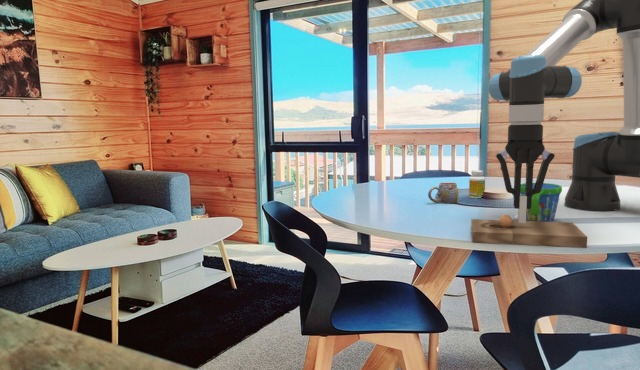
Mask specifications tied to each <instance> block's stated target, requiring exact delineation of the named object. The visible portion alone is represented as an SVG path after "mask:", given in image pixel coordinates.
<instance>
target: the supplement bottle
mask: <svg viewBox="0 0 640 370" xmlns="http://www.w3.org/2000/svg"><path fill="white" fill-rule="evenodd" d="M470 172H471V174H470V175H471V176H470V177H469V178H468V179H469V181H468V182H469V183H468V185H469V187H468V190H469V191H468V197H469V198H471V199H477V198H481V197H482V195H483V192H484V191H486V178H485V176H483V175H484V170H477V169H476V170H475V169H474V170H471V171H470ZM481 199H482V198H481Z"/></svg>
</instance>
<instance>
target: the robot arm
mask: <svg viewBox="0 0 640 370" xmlns="http://www.w3.org/2000/svg"><path fill="white" fill-rule="evenodd" d="M613 29H614V30H615V29H616V35H617V36H618V37H619V38H621V39H622V40H623V41H622V44H623V45H622V46H623V47H622V48H623V49H622V50H623V51H622V53H623V54H622V55H623V56H622V58H623V59H622V61H623V68H622V69H623V126H622V127H621V128H620V129H619V130H618V131H606V132H605V131H604V132H594V133H593V132H592V133H587V134H586V133H585V134H580V135H577V136H576V137H575V138H574V142H573V148H572V153H573V154H572V173H571V183H570V186H569V188H568V190H567V192H566V194H565V197H564V205H565V206H566V207H568V208H571V209H572V208H573V209H577V210H584V211H597V212H598V211H601V212H602V211H603V212H604V211H605V212H606V211H607V212H608V211H616V210H619V209H621V198H620V194H619V192H618V189H617V186H616V176H618V177H627V178H636V179H638V178H639V179H640V0H581V1H580V2H578V3H577V4H575V5H574V6H573V7H572V8H571V9H570V10H569V11H568V12H567V13H566V14H565V15H564V16H563V17H562V22H561V23H560V24H558V25H557V26H556V27H555V28H554V29H553V30H552V31H551V32H550V33H549V34H548V35H546V36H545V37H544V38H543V39H542V40H540V41H539V42H538V43H537V44H536V45H535V46H534V47H532V49H531V50H530V51H528V52H527V53H526V54H525V55H520V56H515V57H514V58H512V59H511V61H510V68H509V69H508V70H506V71H505V72H504V71H502V72H498V73H495V74H493V75H492V76H491V77H490V79H489V81H488V85H487V86H488V93H489V95H490V97H491V98H492V99H493V100H495V101H498V102H499V101H500V102H501V101H505V102H508V123H510V124H509V126H508V127H507V128H508V129H507V143H506V145H505V147H504V149H503V150H501V151H500V152H497V153H496V154H495V158H496V159H497V160H498V162H499V165H500V169H501V173H502V177H503V181H504V187H505V191H506V192H507V193H509V194H512V195H513V207H514V209H517V221H518V222H519V223H526V209H531V204H532V196H533V195H534V194H537V193H540V192H541V189H542V186H543V183H545V182H544V181H545V179H546V176H547V172H548V170H549V169H548V168H549V166H550V164H551V162H552V161H553V160H554V158H555V153H553V152H550V151H548V150H546V148H545V145H544V143H543V139H544V137H543V136H544V125H543V124H541V123H543V121H544V117H545V116H544V115H545V113H544V112H545V105H544V104H545V99H566V98H570V97H573V96H575V95H576V94H577V93H578V92H579V90H580V89H581V86H582V83H583V79H582V75H581V72H580V71H579V70H578V69H576V68H575V67H572V66H566V65H563V66H562V65H557V64H558V63H559V62H560V61H561V60H563V58H565V57H566V56H567V55H568V54H569V53H570V52H571V51H573V49H574V48H576V47H577V46H578V45H579V43H581V42H582V41H586V40H589V39H590V38H591V37H592V36H594V35H595V34H597V33H599V32H602V31H607V30H613ZM507 155H508V156H509V157H510V159H511V160H512V161H513V162H514V173H513V175H514V177H513V186H512V182H511V178H510V175H509V169H508V165H507V161H506V160H507V158H508V157H507ZM540 156H541V159H542V161H541V164H540V167H539V170H538V174H537V176H536V180H535V182H534V164H535V162H536V161H537V160H538V159H539V158H540ZM524 163H525V166H526V167H525V183H526V187H525V193H526V195H523V194H521V192H520V191H521V184H522V167H523V164H524ZM533 183H535V186H534V188H533Z"/></svg>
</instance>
